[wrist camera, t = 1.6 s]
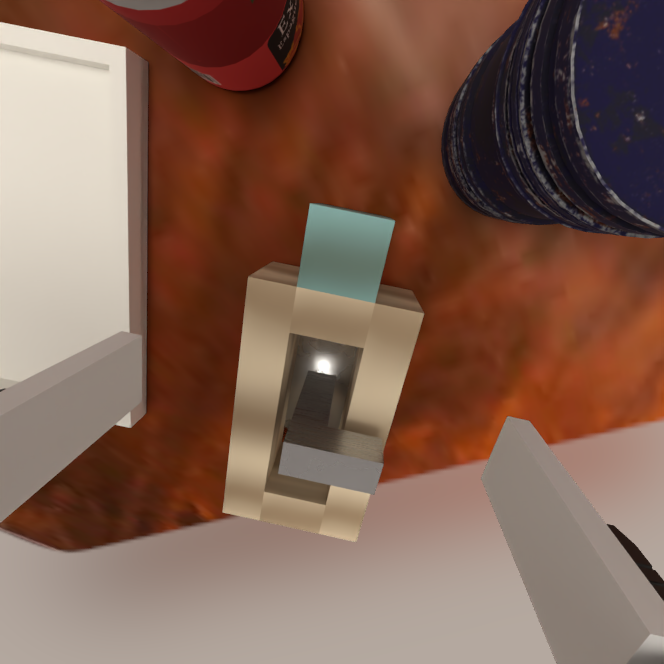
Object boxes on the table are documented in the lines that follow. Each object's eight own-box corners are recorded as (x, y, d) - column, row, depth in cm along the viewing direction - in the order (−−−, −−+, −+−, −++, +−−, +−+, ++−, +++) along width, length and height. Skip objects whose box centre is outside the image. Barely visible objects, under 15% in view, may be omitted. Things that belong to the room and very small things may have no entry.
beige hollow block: (281, 194, 21) (257, 192, 16) (430, 225, 21) (448, 231, 16) (246, 460, 28) (222, 512, 23) (357, 485, 28) (356, 542, 23)
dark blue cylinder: (501, 253, 24) (692, 323, 10) (406, 137, 22) (475, 23, 8) (645, 135, 21) (1206, -2, 7) (548, -10, 19) (1045, -589, 5)
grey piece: (262, 403, 30) (206, 509, 19) (276, 301, 26) (219, 363, 16) (367, 426, 29) (368, 545, 19) (394, 326, 26) (413, 405, 16)
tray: (-18, 377, 31) (-45, 389, 29) (-84, 15, 22) (-130, -4, 20) (146, 413, 31) (130, 427, 29) (148, 62, 22) (125, 47, 20)
